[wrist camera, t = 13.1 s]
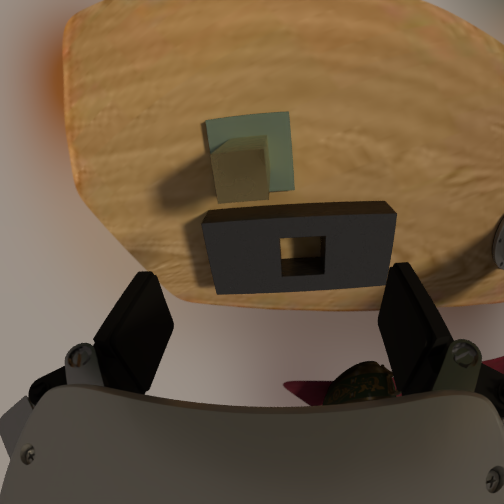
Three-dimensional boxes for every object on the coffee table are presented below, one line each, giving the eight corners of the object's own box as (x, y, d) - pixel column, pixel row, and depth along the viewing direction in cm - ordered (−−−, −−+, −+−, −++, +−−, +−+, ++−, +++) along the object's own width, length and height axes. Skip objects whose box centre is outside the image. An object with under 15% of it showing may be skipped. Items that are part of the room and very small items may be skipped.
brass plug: (267, 134, 27) (263, 148, 19) (270, 169, 29) (268, 199, 21) (230, 138, 28) (210, 154, 19) (235, 172, 30) (218, 203, 21)
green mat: (288, 111, 27) (288, 111, 26) (294, 187, 31) (294, 190, 30) (207, 120, 28) (205, 120, 27) (218, 193, 32) (217, 195, 31)
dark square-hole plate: (385, 200, 31) (397, 213, 27) (377, 268, 36) (385, 285, 32) (209, 210, 33) (201, 223, 30) (221, 276, 38) (216, 294, 35)
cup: (405, 371, 48) (416, 409, 40) (326, 402, 56) (328, 439, 47) (391, 342, 44) (405, 387, 35) (300, 380, 51) (300, 423, 42)
